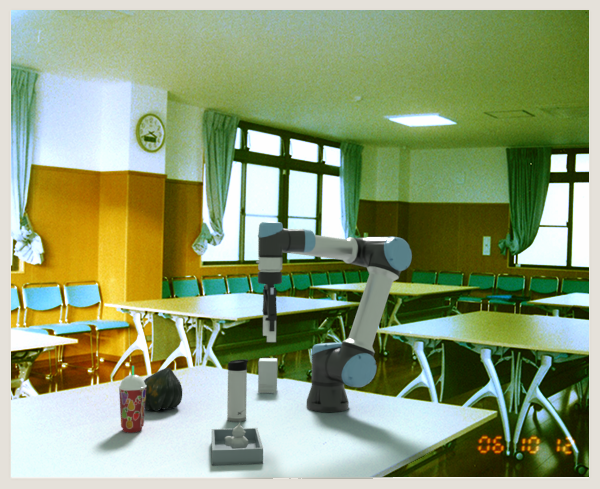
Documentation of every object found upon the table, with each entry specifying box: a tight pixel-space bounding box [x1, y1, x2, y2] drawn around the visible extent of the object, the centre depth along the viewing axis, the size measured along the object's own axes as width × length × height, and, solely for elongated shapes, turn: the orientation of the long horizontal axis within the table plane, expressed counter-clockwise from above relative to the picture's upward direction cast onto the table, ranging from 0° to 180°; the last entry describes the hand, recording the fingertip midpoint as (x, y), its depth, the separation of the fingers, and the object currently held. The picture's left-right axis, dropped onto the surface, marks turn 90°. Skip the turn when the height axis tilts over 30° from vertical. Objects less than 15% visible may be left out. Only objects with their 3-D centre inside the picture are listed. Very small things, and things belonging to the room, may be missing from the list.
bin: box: [211, 427, 264, 466], centre depth 181 cm, size 13×19×4 cm
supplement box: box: [257, 357, 278, 394], centre depth 256 cm, size 7×7×13 cm
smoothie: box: [118, 365, 147, 434], centre depth 201 cm, size 8×8×20 cm
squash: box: [143, 367, 183, 412], centre depth 228 cm, size 14×15×15 cm
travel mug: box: [226, 358, 249, 423], centre depth 215 cm, size 6×7×20 cm
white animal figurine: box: [225, 422, 248, 449], centre depth 181 cm, size 5×7×8 cm
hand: (269, 338), depth 203 cm, fingers open, 13 cm apart
